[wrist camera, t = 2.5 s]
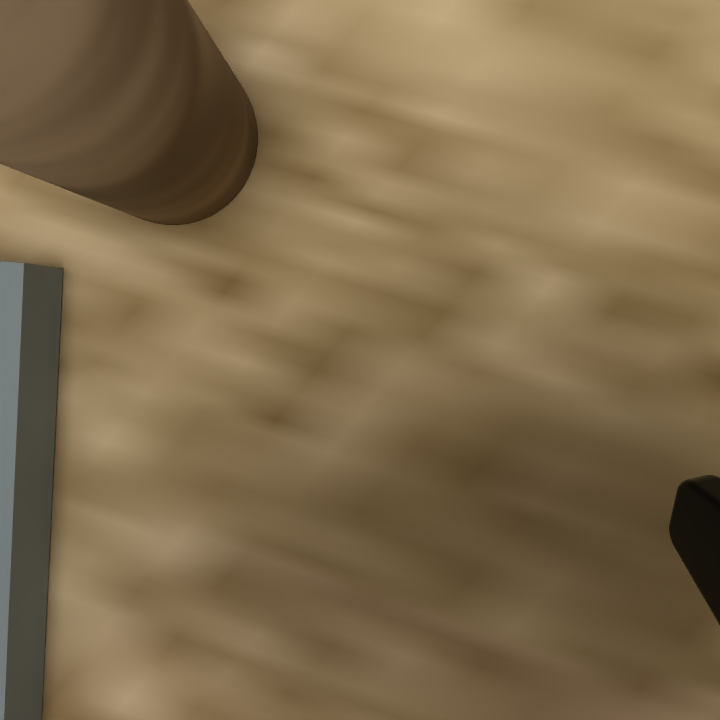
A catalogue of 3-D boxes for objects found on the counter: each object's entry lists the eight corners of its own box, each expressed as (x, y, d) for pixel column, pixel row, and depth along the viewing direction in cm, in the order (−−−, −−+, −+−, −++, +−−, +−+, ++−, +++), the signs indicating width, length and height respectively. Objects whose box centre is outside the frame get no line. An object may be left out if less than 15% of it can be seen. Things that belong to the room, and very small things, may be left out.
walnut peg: (251, 231, 20) (52, 108, 8) (82, 218, 20) (-358, 79, 8) (263, 54, 20) (73, -347, 8) (91, 43, 20) (-355, -367, 8)
